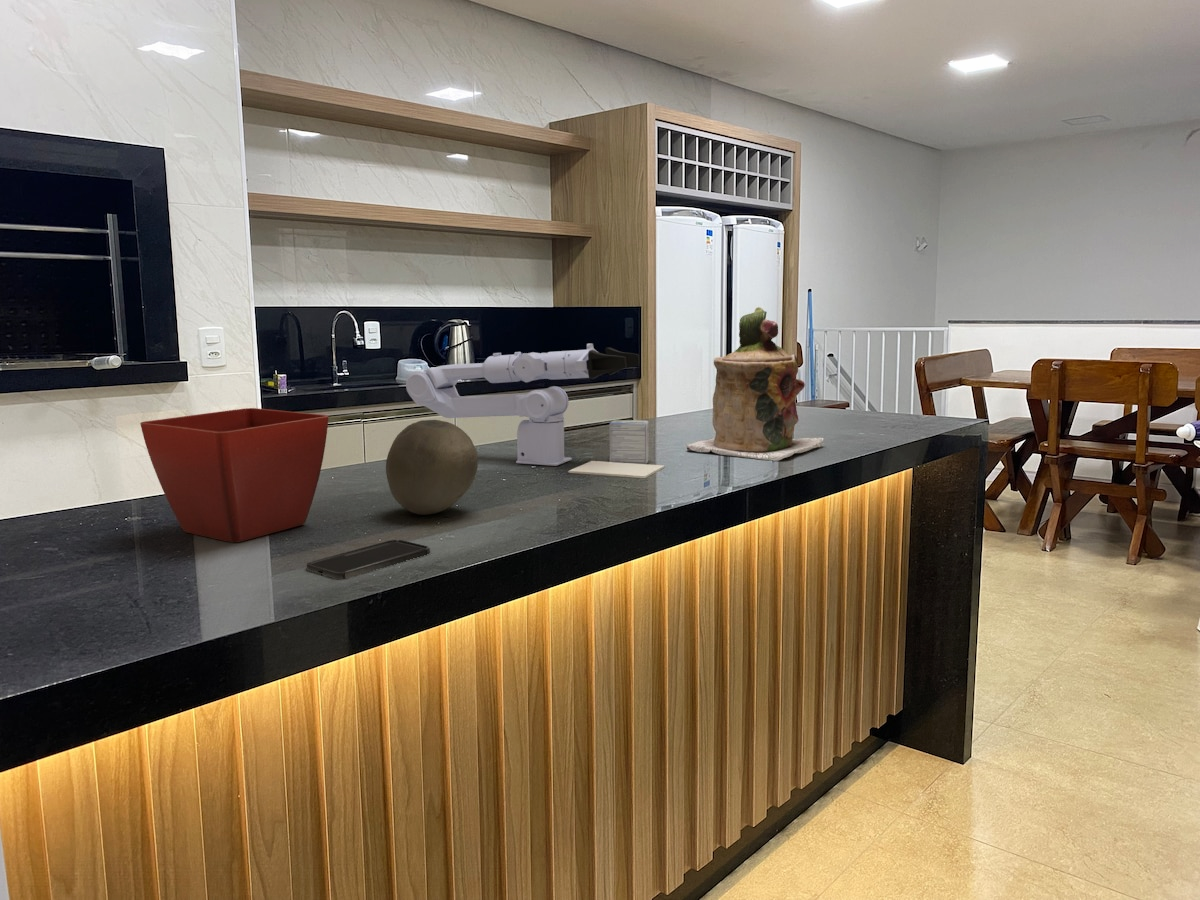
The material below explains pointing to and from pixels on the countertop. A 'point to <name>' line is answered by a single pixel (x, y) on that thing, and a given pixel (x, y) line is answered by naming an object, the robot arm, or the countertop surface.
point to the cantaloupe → (431, 466)
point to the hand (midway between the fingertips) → (632, 361)
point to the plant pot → (238, 469)
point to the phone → (367, 559)
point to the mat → (617, 469)
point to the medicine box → (629, 441)
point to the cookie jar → (756, 397)
